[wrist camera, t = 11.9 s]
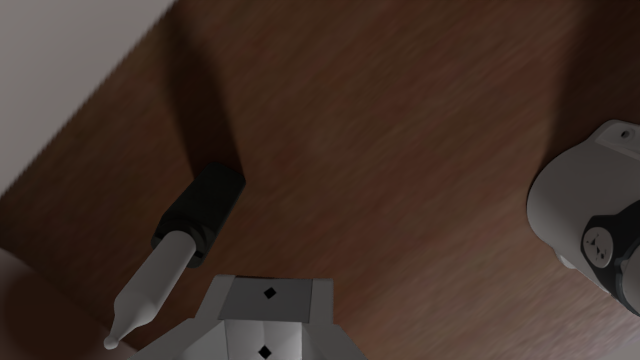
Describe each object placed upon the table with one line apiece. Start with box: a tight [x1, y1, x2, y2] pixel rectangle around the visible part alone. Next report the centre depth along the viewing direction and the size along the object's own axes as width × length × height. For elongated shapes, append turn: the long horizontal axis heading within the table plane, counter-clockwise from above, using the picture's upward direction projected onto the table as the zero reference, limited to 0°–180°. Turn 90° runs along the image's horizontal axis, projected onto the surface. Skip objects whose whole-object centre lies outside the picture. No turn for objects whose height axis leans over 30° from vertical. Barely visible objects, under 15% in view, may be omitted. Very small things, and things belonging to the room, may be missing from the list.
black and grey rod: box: [104, 162, 246, 349], centre depth 35 cm, size 5×5×25 cm
